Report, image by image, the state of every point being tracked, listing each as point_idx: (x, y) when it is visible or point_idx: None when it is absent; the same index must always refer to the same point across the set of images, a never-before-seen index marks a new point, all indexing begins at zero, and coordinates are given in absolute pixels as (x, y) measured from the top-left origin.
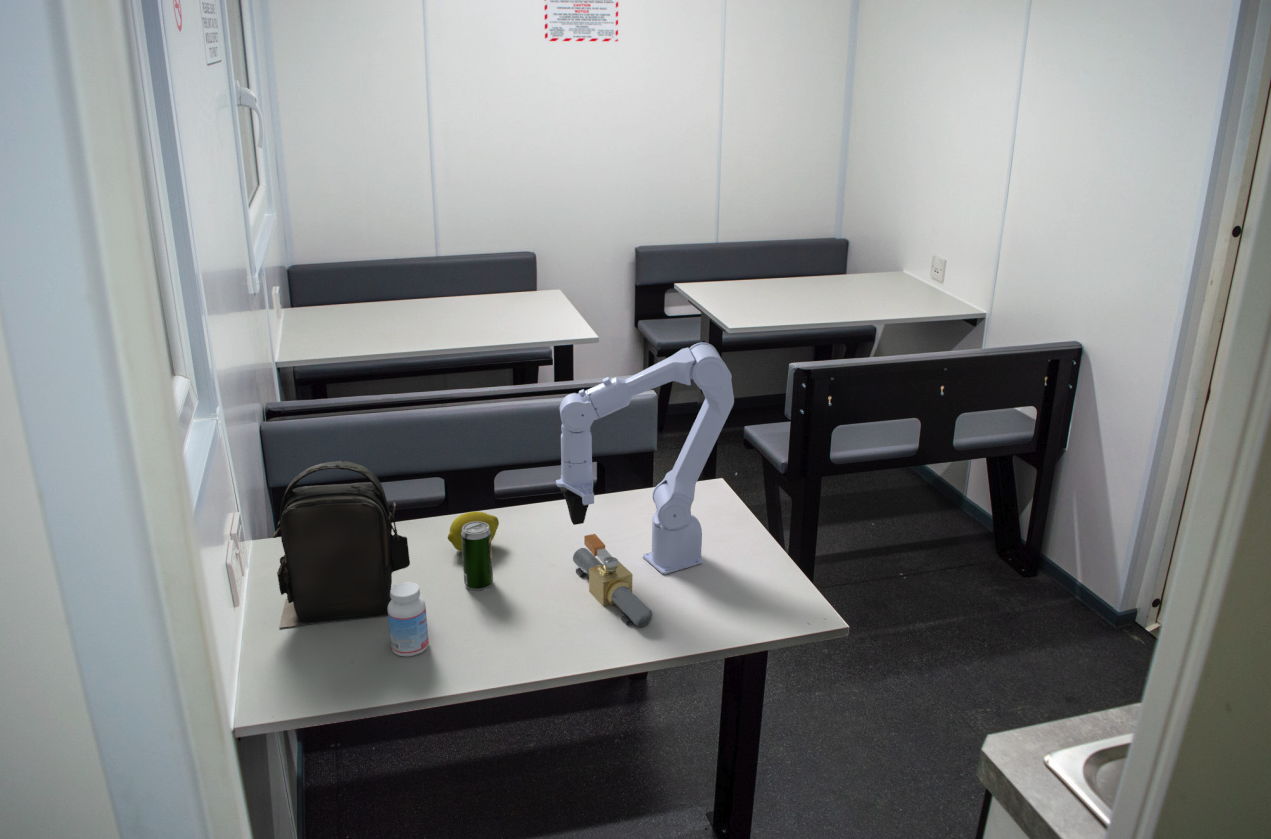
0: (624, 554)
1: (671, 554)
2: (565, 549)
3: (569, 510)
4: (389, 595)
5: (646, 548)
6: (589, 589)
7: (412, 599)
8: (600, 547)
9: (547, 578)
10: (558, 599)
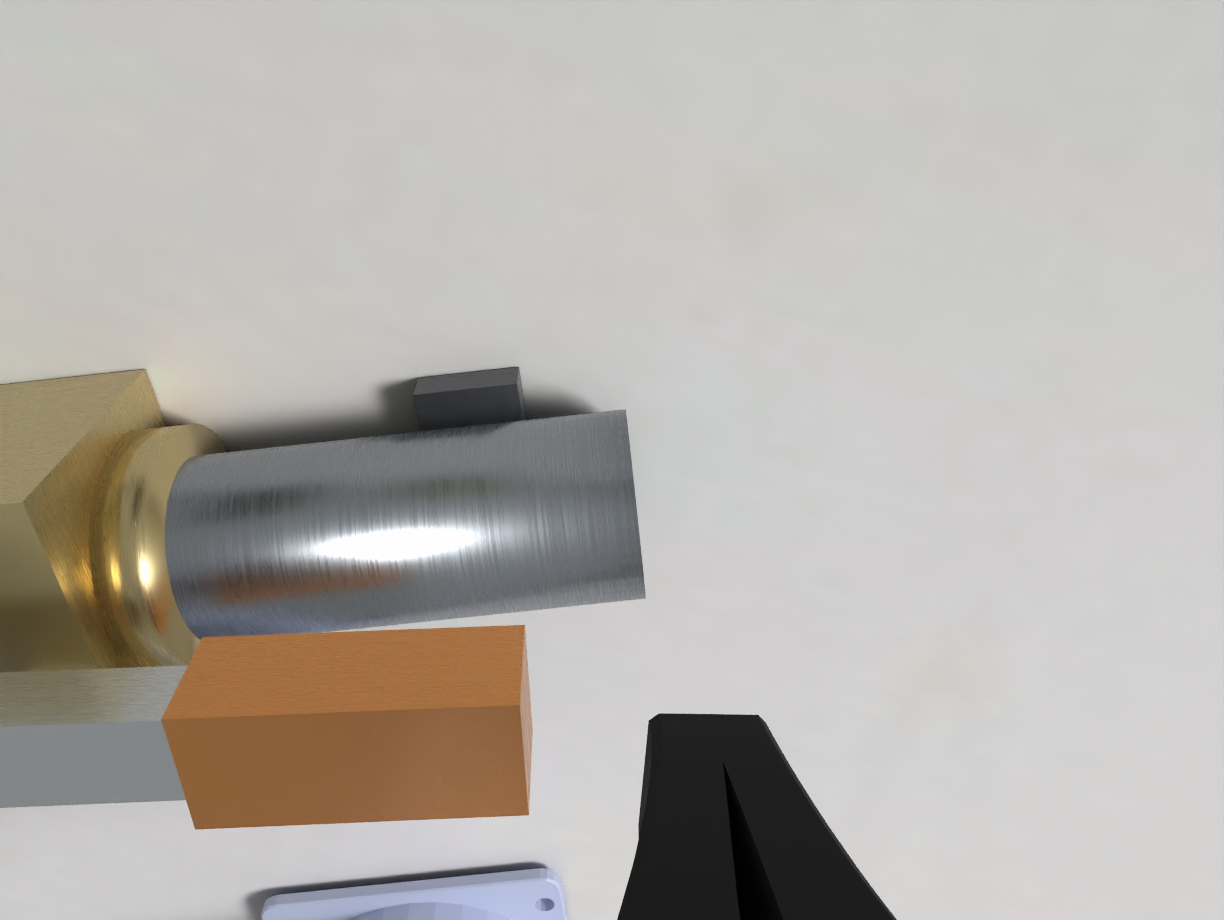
0: None
1: None
2: (972, 416)
3: (767, 882)
4: None
5: None
6: (128, 380)
7: None
8: (188, 770)
9: (517, 59)
10: (50, 27)
